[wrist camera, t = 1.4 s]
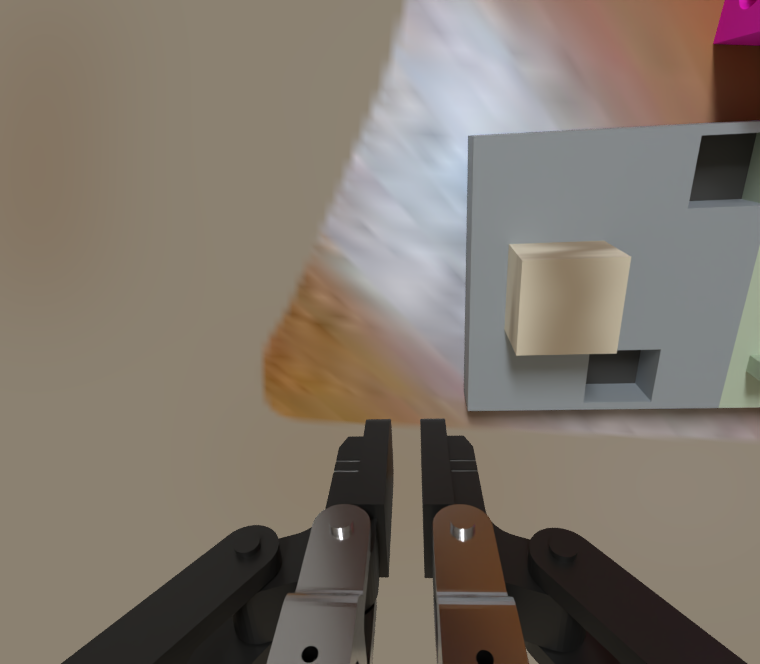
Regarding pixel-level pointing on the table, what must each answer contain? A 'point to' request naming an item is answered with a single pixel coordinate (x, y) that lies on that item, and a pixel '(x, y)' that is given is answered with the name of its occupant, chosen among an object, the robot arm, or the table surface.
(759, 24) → the toy block
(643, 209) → the board
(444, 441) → the robot arm
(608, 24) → the table surface
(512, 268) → the birch block
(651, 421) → the table surface
